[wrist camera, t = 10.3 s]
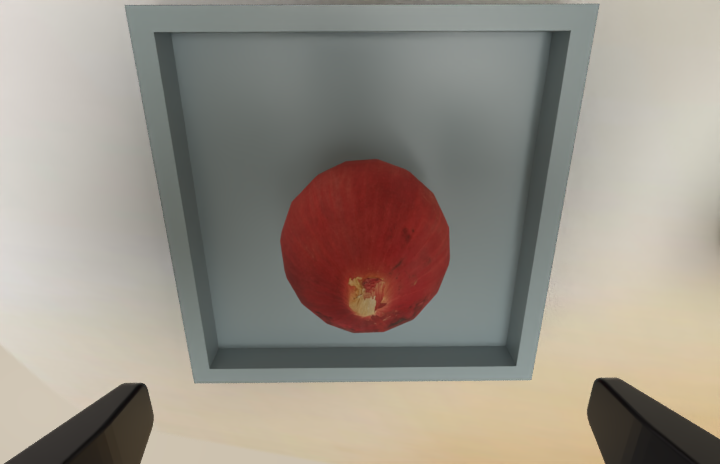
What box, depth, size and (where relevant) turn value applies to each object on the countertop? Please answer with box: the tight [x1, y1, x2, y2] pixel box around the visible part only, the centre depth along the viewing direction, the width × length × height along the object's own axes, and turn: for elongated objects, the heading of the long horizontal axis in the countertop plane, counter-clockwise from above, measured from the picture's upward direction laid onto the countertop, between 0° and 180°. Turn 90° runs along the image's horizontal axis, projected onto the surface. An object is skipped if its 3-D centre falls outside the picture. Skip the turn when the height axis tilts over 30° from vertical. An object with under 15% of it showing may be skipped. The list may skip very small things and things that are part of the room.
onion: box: [280, 159, 450, 333], centre depth 15 cm, size 6×6×8 cm
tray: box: [125, 4, 599, 383], centre depth 19 cm, size 16×16×2 cm
